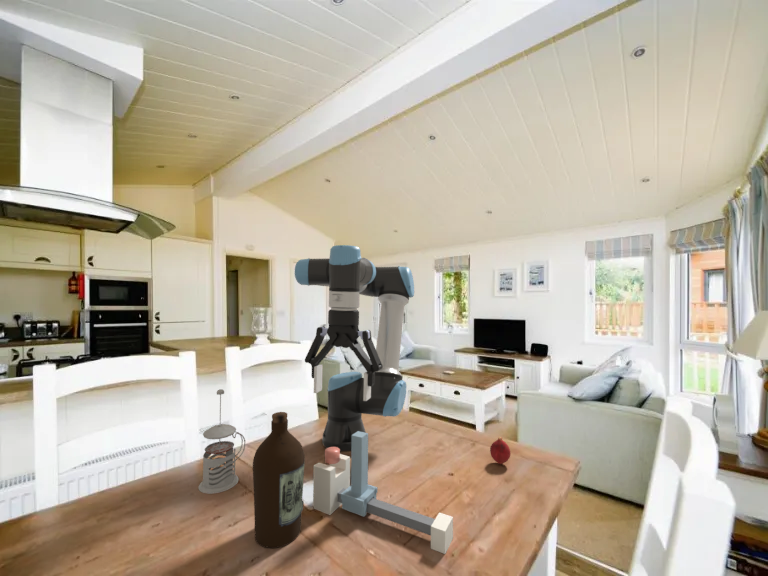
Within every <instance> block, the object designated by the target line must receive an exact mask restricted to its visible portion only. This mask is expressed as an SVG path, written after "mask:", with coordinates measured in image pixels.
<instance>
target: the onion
mask: <svg viewBox="0 0 768 576" xmlns="http://www.w3.org/2000/svg"><path fill="white" fill-rule="evenodd" d="M497 438H498V439H497V440H496V439H495V440H494V441H493V442H492V443H491V445H490V448H489V449H490V450H489V452H490V456H491V458H492V459H493V461H495V462H496V463H497V464H498V465H503V464H505V463H507V462H508V461H509V459H510V458H511V448H510V446H509V445H508V443H506V441H504V440H503V437H501V436H499V437H497Z"/></svg>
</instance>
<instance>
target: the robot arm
mask: <svg viewBox="0 0 768 576" xmlns="http://www.w3.org/2000/svg"><path fill="white" fill-rule="evenodd" d="M329 251H330V252H329V258H310V257H308V258H302V259H299V260H297V262H296V263H295V265H294V277H295V281H296V282H297V283H298V284H299V285H301V286H308V287H309V286H319V287H327V288H328V307H329V308H330V309H329V310H328V312H327V314H328V315H327V324H328V327H326V326H319V327H317V328H316V331H315V332H316V333H315V337H314V339H313V341H312V343H311V345H310V348H309V350H308V351H307V354H306V356H305V358H304V362H305V364H309V365H311V378H312V379H313V393H314V394H318V393H320V392H321V391H323V370H324V369H323V364H321V362H322V361H323V360H324V359H325V358H326V356H327V355H328V354H329V352H331V350H332V349H333V348H334V347H336V348H340V347H341V348H345V349H348V348H349V349H350V350H351V351H353V353H354V355H355V356H356V358H357V359H358V361H360V362H359V363H360V364H361V365H362V366H363V368H364V369H365V372H363V374H362V372H359V371H347V372H341V373H338V374H334V375H331V377H329V378H328V379H329V380H328V384H327V421H326V424H325V427H324V431H323V434H322V437H321V438H322V442H321V443H322V445H323V446H324V447H325V449H327V448H329V447H338V448H339V449H340V452H345V451H346V452H347V451H351V446H352V435H353V434H354V433H356V432H357V431H360V432H365V433H367V432H366V429H365V425H364V421H363V419H362V417H363V416H362V414H364V415H371V416H372V415H374V416H381V417H382V416H383V417H397V416H399V415H400V414H401V412H402V410H403V407H404V404H405V401H406V396H407V395H406V394H407V382H406V381H405V380H403V375H402V374H401V372H400V371H399V367H400V357H401V356H400V355H401V346H402V345H401V344H402V336H403V335H402V334H403V325H404V324H403V323H404V312H405V307H406V306H407V304H409V302H410V298H413V297H414V296H415V284H414V276H413V273H412V270H411V269H410V268H409V267H408V266H400V265H398V266H375V264H374V262H372V261H371V260H369V259H368V258H365V257H362V253H361V248H360V247H359V246H356V245H350V244H349V245H347V244H346V245H345V244H343V245H341V244H339V245H333V246H332V247H331V248H330V249H329ZM360 295H362V296H365V297H371V298H372V297H373V298H375V297H376V298H377V300H378V301H379V303H380V315H379V320H378V321H379V323H378V329H377V338H376V339H377V340H376V347H375V345H374V341H373V340H372V332H371V330H370V329H367V330H360V328H359V325H360V311H359V308H360ZM326 336H328V338H329V339H328V340H327V341H326V342H325V345H324V346H323V347H322V349H321V350H320V348H321V346H322V343H323V342H324V339H325V337H326ZM359 337H360V339H361V340H362V343H363V346H364V348H365V350H366V351H364V349H363V347H362V344H361V343H360V342H359V340H358V339H359ZM319 350H320V351H319ZM318 351H319V352H318ZM366 352H367V353H366Z"/></svg>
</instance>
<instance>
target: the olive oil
mask: <svg viewBox="0 0 768 576" xmlns="http://www.w3.org/2000/svg"><path fill="white" fill-rule="evenodd" d="M288 424H289V420H288V413H287V412H284V411H279V412H278V411H277V412H274V413H272V414H271V427H270V428H271V432H270V433H269V434H268V436H267V437H266V438H264V440H263V441H262V443H260V444H259V445H258V447H257V449H256V450H255V453H254V456H253V459H252V479H253V480H252V483H253V508H254V510H253V513H254V539H255V541H256V544H258V545H259V546H260V547H263V548H267V549H275V548H280V547H283V546H286V545H288V544H290V543H292V542H293V541H294V540H296V539H297V538H298V537H299V535H300V533H301V530H302V515H303V514H302V512H303V511H304V500H303V492H304V478H305V477H304V476H305V465H306V464H305V463H306V460H305V457H306V456H305V450H304V448H303V446H302V443H301V442H300V441H299V440H298V439H297V438H296V437H295V436H294V435H293V434H292V433H291V432H290V431H289V430H288V429H289V428H288V427H289V426H288Z"/></svg>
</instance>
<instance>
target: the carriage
mask: <svg viewBox="0 0 768 576" xmlns="http://www.w3.org/2000/svg"><path fill="white" fill-rule="evenodd" d="M365 432H366V431H365ZM365 432H360V431H357V432H356V433H354V434H353V435H352V446H351V450H350V451H351V456H350V458H351V476H350V486H349V487H348V488H347V489H346V490H345V491H344V492H342V493H341V499H342V505H341V509H342V510H345V511H346V512H347V511H348V512H350V513H353V514H356V515H358V516H361V517H366V516H367V503H368V502H369V501H370V500H371V499H372V498H374V499H377V493H378V487H377V486H374V485H371V484H369V433H368V432H366V433H365Z"/></svg>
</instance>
